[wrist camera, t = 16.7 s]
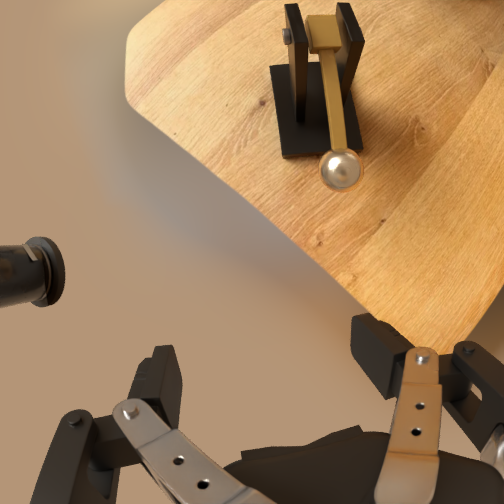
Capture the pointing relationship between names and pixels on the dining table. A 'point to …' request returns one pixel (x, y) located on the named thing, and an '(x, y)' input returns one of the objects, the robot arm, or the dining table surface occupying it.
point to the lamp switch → (333, 107)
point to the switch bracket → (314, 87)
